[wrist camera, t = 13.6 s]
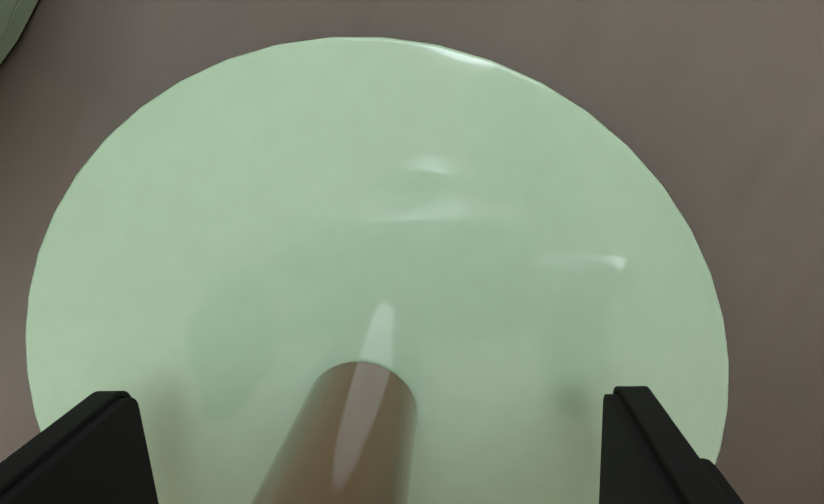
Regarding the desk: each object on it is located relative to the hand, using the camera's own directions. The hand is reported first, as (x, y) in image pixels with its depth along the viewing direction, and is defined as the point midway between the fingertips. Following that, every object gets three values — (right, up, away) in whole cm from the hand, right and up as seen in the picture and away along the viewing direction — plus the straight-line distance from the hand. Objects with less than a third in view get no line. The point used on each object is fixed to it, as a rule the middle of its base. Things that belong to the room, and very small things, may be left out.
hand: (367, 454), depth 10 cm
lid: (0, 0, +2) cm, 2 cm away
